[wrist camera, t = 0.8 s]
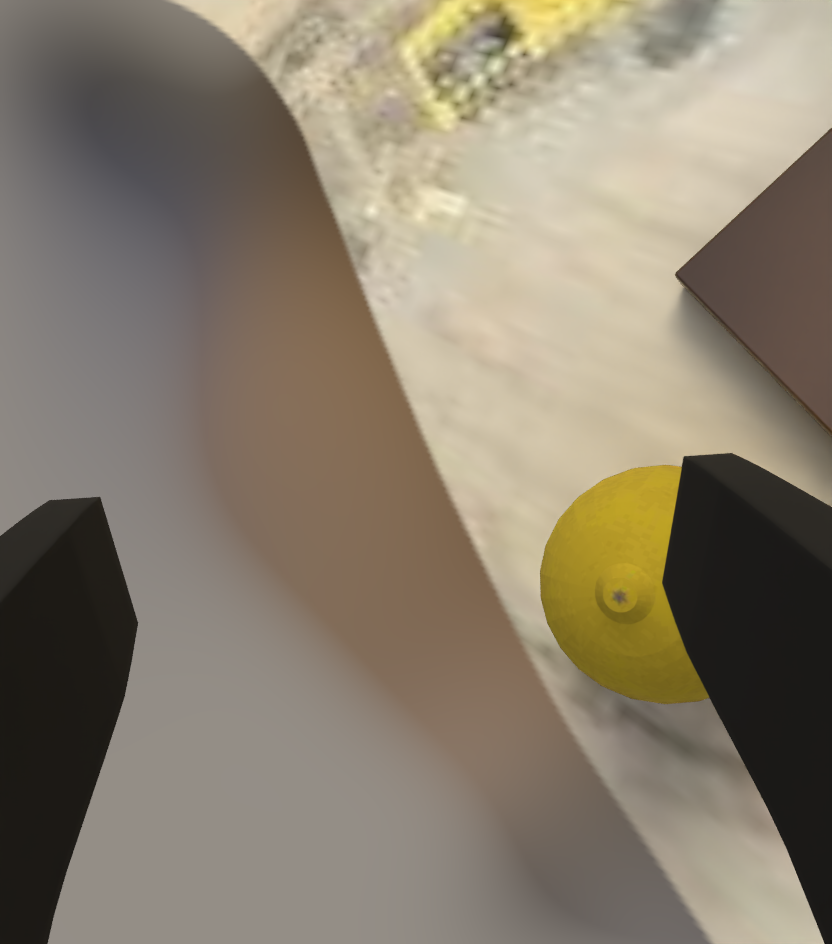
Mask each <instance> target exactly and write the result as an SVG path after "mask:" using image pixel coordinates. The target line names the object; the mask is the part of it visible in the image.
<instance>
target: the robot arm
mask: <svg viewBox="0 0 832 944" xmlns="http://www.w3.org/2000/svg"><path fill="white" fill-rule="evenodd" d="M662 585H663V588H664V591H665V594H666V597H667V600H668V603H669V606H670V608H671V611H672V614H673V617H674V620H675V623H676V626H677V628H678V631H679V634H680V636H681V639H682V642H683V644H684V647H685V650H686V652H687V654H688V656H689V658H690V660H691V662H692V664H693V666H694V668H695V670H696V672H697V674H698V676H699V678H700V680H701V682H702V684H703V686H704V688H705V690H706V692H707V694H708V695H709V697H710V699H711V701H712V703H713V705H714V707H715V709H716V711H717V713H718V715H719V717H720V719H721V720H722V722H723V724H724V726H725V728H726V730H727V732H728V734H729V736H730V738H731V739H732V741H733V743H734V745H735V747H736V749H737V751H738V753H739V755H740V757H741V758H742V760H743V762H744V764H745V766H746V768H747V770H748V772H749V774H750V776H751V778H752V779H753V781H754V783H755V785H756V787H757V789H758V791H759V793H760V795H761V797H762V798H763V800H764V802H765V804H766V806H767V808H768V810H769V812H770V814H771V816H772V819H773V821H774V823H775V825H776V827H777V829H778V831H779V833H780V835H781V838H782V840H783V842H784V844H785V846H786V848H787V851H788V853H789V856H790V858H791V861H792V863H793V866H794V868H795V871H796V873H797V876H798V878H799V881H800V883H801V886H802V888H803V891H804V893H805V895H806V898H807V900H808V903H809V905H810V908H811V910H812V913H813V915H814V918H815V920H816V923H817V925H818V928H819V930H820V933H821V935H822V938H823V941H824V943H825V944H832V507H831V506H829V505H827V504H825V503H824V502H822V501H820V500H818V499H817V498H815V497H813V496H811V495H809V494H808V493H806V492H804V491H802V490H801V489H799V488H797V487H795V486H794V485H792V484H790V483H788V482H787V481H785V480H783V479H781V478H779V477H778V476H776V475H774V474H772V473H770V472H769V471H767V470H765V469H763V468H761V467H759V466H757V465H755V464H753V463H751V462H749V461H748V460H745V459H743V458H741V457H739V456H737V455H735V454H732V453H727V454H713V455H698V456H684V458H683V464H682V470H681V475H680V481H679V487H678V493H677V499H676V504H675V510H674V516H673V522H672V527H671V533H670V539H669V545H668V551H667V556H666V562H665V568H664V574H663V579H662ZM137 626H138V622H137V618H136V615H135V612H134V608H133V605H132V602H131V598H130V595H129V592H128V588H127V585H126V581H125V578H124V575H123V571H122V569H121V565H120V562H119V558H118V555H117V552H116V548H115V545H114V542H113V538H112V535H111V532H110V528H109V525H108V522H107V518H106V515H105V512H104V508H103V505H102V502H101V498H100V497H92V498H79V499H63V500H49V501H48V502H46V503H45V504H43V505H42V506H40V507H39V508H37V509H36V510H34V511H33V512H31V513H30V514H29V515H27V516H26V517H25V518H23V519H22V520H20V521H19V522H18V523H16V524H15V525H14V526H13V527H11V528H10V529H9V530H7V531H6V532H5V533H4V534H2V535H1V536H0V944H47V943H48V939H49V934H50V930H51V926H52V921H53V917H54V913H55V909H56V906H57V903H58V899H59V896H60V892H61V889H62V885H63V882H64V879H65V875H66V872H67V869H68V866H69V863H70V860H71V857H72V854H73V850H74V848H75V845H76V842H77V839H78V836H79V833H80V830H81V827H82V824H83V821H84V818H85V815H86V812H87V809H88V806H89V803H90V800H91V797H92V794H93V791H94V788H95V785H96V782H97V779H98V776H99V773H100V770H101V767H102V764H103V762H104V759H105V755H106V752H107V749H108V746H109V743H110V740H111V737H112V734H113V731H114V728H115V725H116V722H117V719H118V716H119V713H120V709H121V706H122V702H123V700H124V696H125V692H126V687H127V681H128V677H129V672H130V666H131V662H132V656H133V650H134V644H135V637H136V632H137Z"/></svg>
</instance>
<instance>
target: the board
mask: <svg viewBox="0 0 832 944" xmlns="http://www.w3.org/2000/svg"><path fill="white" fill-rule="evenodd" d="M675 276H676V278H677V279H678V280H679V282H680V283H681V284H682V286H683V287H684V288H685V289H686V290H687V291H688V292H689V293H690V294H691V295H692V296H693V297H694V298H695V299H696V300H697V301H698V302H699V303H700V304H701V305H702V306H703V307H704V308H705V309H706V310H707V311H708V312H709V313H710V314H711V315H712V316H713V317H714V318H715V319H716V320H717V321H718V322H719V323H720V324H721V325H722V326H723V327H724V328H725V329H726V330H727V331H728V332H729V333H730V334H731V335H732V336H733V337H734V338H735V339H736V340H737V341H738V343H739V344H740V345H741V346H742V347H743V348H744V349H745V350H746V351H747V352H748V353H749V354H750V355H751V356H752V357H753V358H754V359H755V360H756V361H757V362H758V363H759V364H760V365H761V366H762V367H763V368H764V369H765V370H766V371H767V372H768V373H769V374H770V375H771V376H772V377H773V378H774V379H775V380H776V381H777V382H778V383H779V384H780V385H781V386H782V387H783V388H784V389H785V390H786V391H787V392H788V393H789V394H790V395H791V396H792V397H793V398H794V399H795V400H796V401H797V402H798V403H799V404H800V405H801V406H802V407H803V408H804V409H805V411H806V412H807V413H808V414H809V415H810V416H811V417H812V418H813V419H814V420H815V421H816V422H817V423H818V424H819V425H820V426H821V427H822V428H823V429H824V430H825V431H826V432H827V433H828V434H829V435H830V436H831V437H832V128H831V129H830V130H829V131H828V132H827V133H826V134H824V135H823V136H822V137H821V138H820V139H819V140H818V141H817V142H816V143H815V144H814V145H813V146H812V147H811V148H809V149H808V150H807V151H806V152H805V153H804V154H803V155H802V156H801V157H800V158H799V159H798V160H797V161H795V162H794V163H793V164H792V165H791V166H790V167H789V168H788V169H787V170H786V171H785V172H784V173H783V174H781V175H780V176H779V177H778V178H777V179H776V180H775V181H774V182H773V183H772V184H771V185H770V186H769V187H767V188H766V189H765V190H764V191H763V192H762V193H761V194H760V195H759V196H758V197H757V198H756V199H755V200H753V201H752V202H751V203H750V204H749V205H748V206H747V207H746V208H745V209H744V210H743V211H742V212H741V213H739V214H738V215H737V216H736V217H735V218H734V219H733V220H732V221H731V222H730V223H729V224H728V225H727V226H725V227H724V228H723V229H722V230H721V231H720V232H719V233H718V234H717V235H716V236H715V237H714V238H713V239H711V240H710V241H709V242H708V243H707V244H706V245H705V246H704V247H703V248H702V249H701V250H700V251H699V252H697V253H696V254H695V255H694V256H693V257H692V258H691V259H690V260H689V261H688V262H687V263H686V264H685V265H684V266H682V267H681V268H680V269H679V270H678V271H677V272H676V274H675Z"/></svg>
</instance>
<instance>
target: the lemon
mask: <svg viewBox="0 0 832 944" xmlns="http://www.w3.org/2000/svg"><path fill="white" fill-rule="evenodd" d="M681 470H682V467H678V466H670V465H660V466H651V467H641V468H634V469H630V470H628V471H625V472H622V473H620V474H617V475H614V476H612V477H609V478H606V479H604V480H602V481H601V482H599V483H598V484H596V485H595V486H594V487H592V488H591V489H589V490H588V491H586V492H585V493H583V494H582V495H581V496H579V497H578V498H577V499H576V500H575V501H574V502H573V504H572V505H571V506H570V507H569V508H568V509H567V510H566V512H565V513H564V514H563V515H562V516H561V517H560V519H559V520H558V522H557V524H556V526H555V528H554V530H553V532H552V534H551V536H550V538H549V540H548V542H547V544H546V547H545V551H544V556H543V560H542V565H541V570H540V585H541V600H542V604H543V608H544V612H545V616H546V619H547V623H548V625H549V627H550V629H551V631H552V633H553V635H554V637H555V638H556V640H557V642H558V644H559V646H560V648H561V649H562V650H563V651H564V652H565V654H566V655H567V656H568V657H569V658H570V659H571V661H572V662H573V663H574V664H575V665H576V666H577V668H578V669H579V670H581V671H582V672H584V673H585V674H586V675H588V676H589V677H590V678H592V679H593V680H594V681H596V682H597V683H598V684H600V685H601V686H603V687H605V688H607V689H610V690H612V691H615V692H617V693H619V694H622V695H624V696H626V697H629V698H631V699H637V700H643V701H649V702H655V703H661V704H673V703H684V702H696V701H701V700H704V699H707V698H709V695H708V694H707V692H706V690H705V688H704V686H703V684H702V682H701V680H700V678H699V676H698V674H697V672H696V670H695V668H694V666H693V664H692V662H691V660H690V658H689V656H688V654H687V652H686V650H685V647H684V644H683V642H682V639H681V636H680V634H679V631H678V628H677V626H676V623H675V620H674V617H673V614H672V611H671V608H670V606H669V603H668V600H667V597H666V594H665V591H664V588H663V585H662V579H663V574H664V568H665V562H666V556H667V551H668V545H669V539H670V533H671V527H672V522H673V516H674V510H675V504H676V499H677V493H678V487H679V481H680V475H681Z"/></svg>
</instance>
